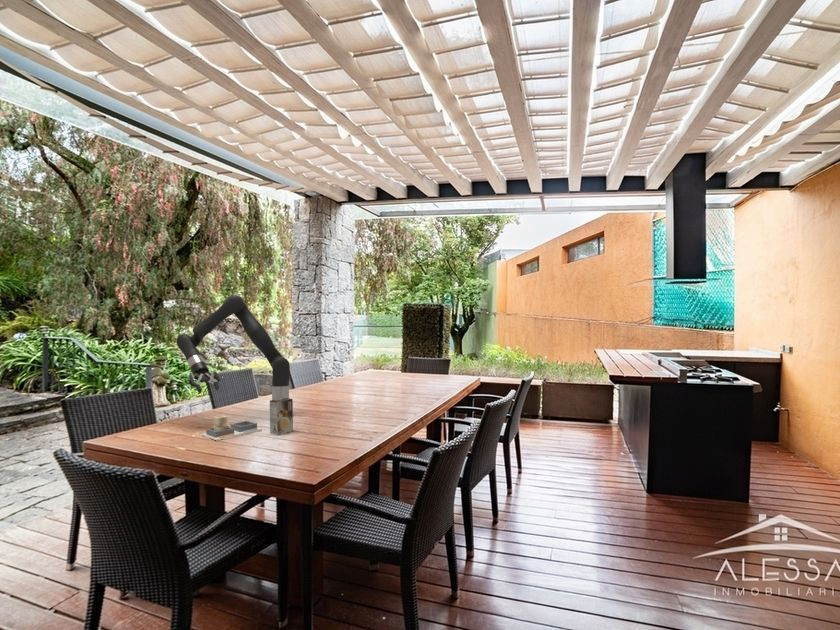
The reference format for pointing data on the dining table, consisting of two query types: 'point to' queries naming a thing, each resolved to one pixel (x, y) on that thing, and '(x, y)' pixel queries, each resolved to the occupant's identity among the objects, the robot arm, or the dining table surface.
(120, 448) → the dining table surface
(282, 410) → the coffee box
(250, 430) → the socket board
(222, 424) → the plug
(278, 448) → the dining table surface
